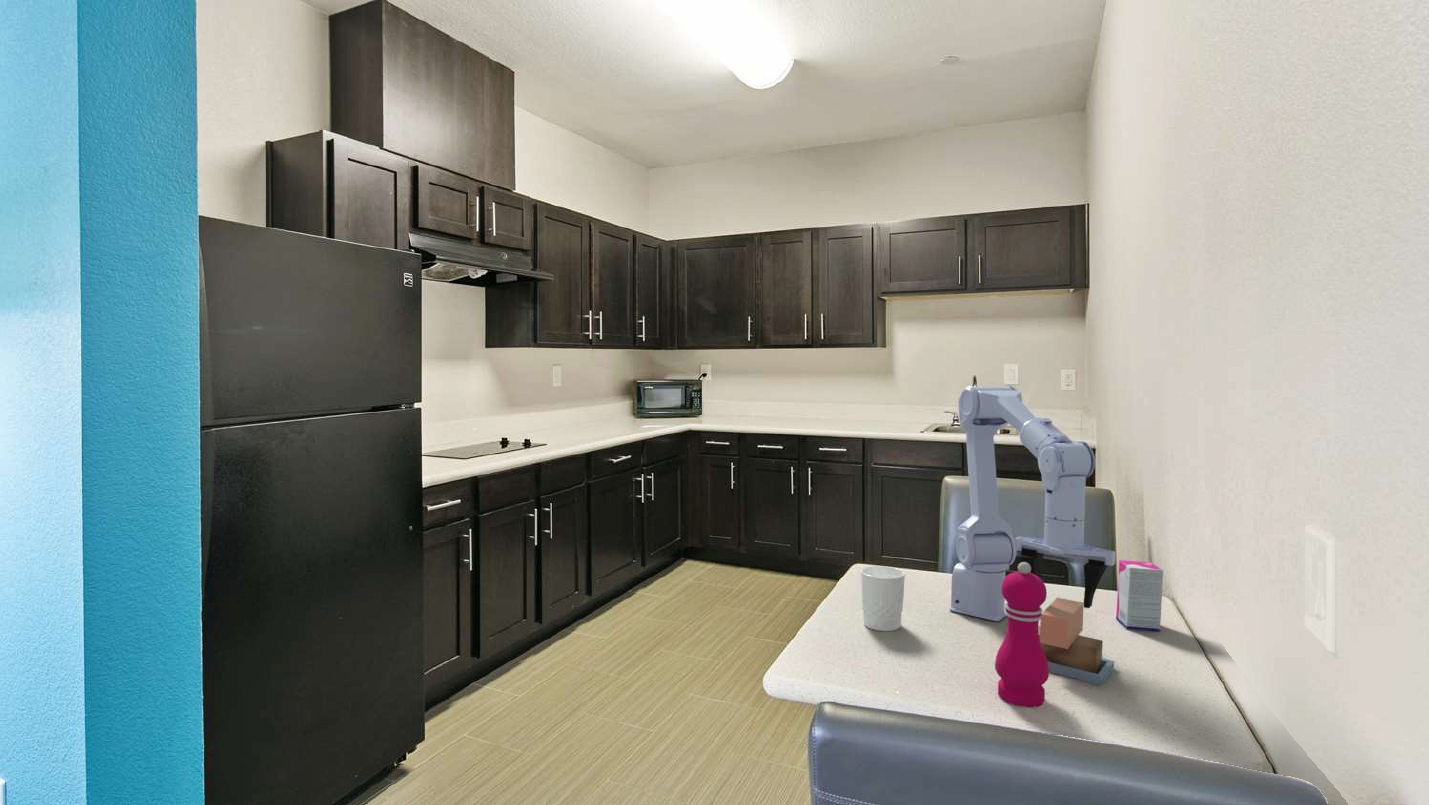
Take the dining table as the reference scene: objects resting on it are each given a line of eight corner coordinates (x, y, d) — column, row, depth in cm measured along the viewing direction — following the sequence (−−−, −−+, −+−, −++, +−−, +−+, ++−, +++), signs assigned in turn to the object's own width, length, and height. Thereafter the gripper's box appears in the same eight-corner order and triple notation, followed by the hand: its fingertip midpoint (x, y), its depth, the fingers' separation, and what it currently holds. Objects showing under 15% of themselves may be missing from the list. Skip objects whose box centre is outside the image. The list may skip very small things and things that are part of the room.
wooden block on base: (1021, 661, 118) (1022, 631, 117) (1028, 653, 121) (1029, 624, 120) (1095, 680, 111) (1096, 648, 110) (1101, 671, 114) (1102, 640, 113)
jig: (995, 664, 116) (995, 657, 115) (1023, 639, 126) (1023, 632, 126) (1096, 692, 106) (1097, 684, 106) (1118, 662, 117) (1118, 655, 116)
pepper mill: (985, 687, 108) (988, 556, 106) (1031, 685, 108) (1035, 555, 107) (1009, 710, 100) (1012, 570, 99) (1058, 708, 101) (1062, 569, 100)
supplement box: (1161, 632, 130) (1164, 569, 129) (1125, 629, 131) (1128, 567, 130) (1149, 620, 135) (1151, 561, 135) (1115, 618, 136) (1117, 559, 136)
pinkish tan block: (1039, 642, 113) (1040, 614, 112) (1056, 624, 120) (1057, 597, 120) (1067, 649, 110) (1068, 619, 110) (1082, 630, 118) (1083, 602, 118)
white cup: (856, 629, 131) (857, 575, 130) (864, 615, 138) (865, 564, 138) (900, 635, 128) (901, 580, 127) (906, 620, 135) (907, 568, 135)
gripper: (1009, 515, 116) (1006, 597, 117) (1109, 528, 107) (1106, 618, 107) (1023, 508, 121) (1021, 587, 122) (1119, 520, 112) (1116, 606, 113)
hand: (1061, 601), depth 115 cm, fingers open, 7 cm apart
